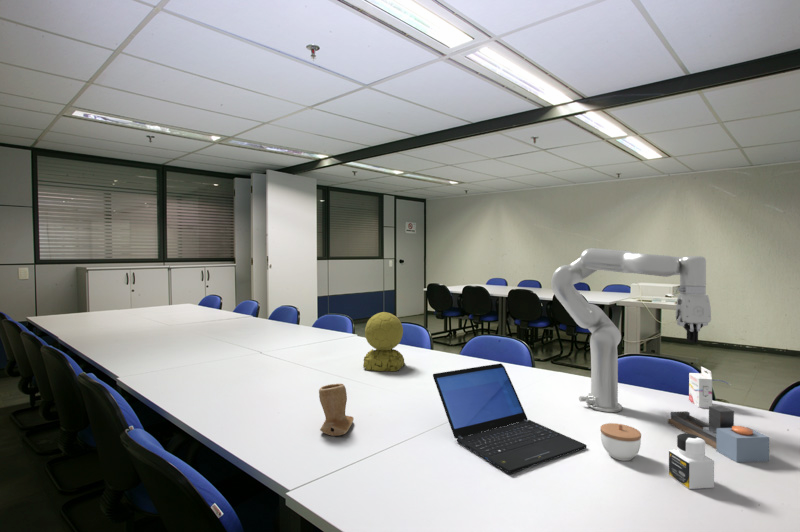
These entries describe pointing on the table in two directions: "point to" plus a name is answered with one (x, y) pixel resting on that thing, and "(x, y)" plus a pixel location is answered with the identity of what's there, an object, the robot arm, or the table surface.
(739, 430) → the button
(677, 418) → the slide rail track
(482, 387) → the laptop
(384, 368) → the trophy
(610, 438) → the lidded jar
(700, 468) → the medicine bottle
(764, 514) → the table surface
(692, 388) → the ink cartridge box
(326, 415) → the tan hollow upright piece
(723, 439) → the button housing
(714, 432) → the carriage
